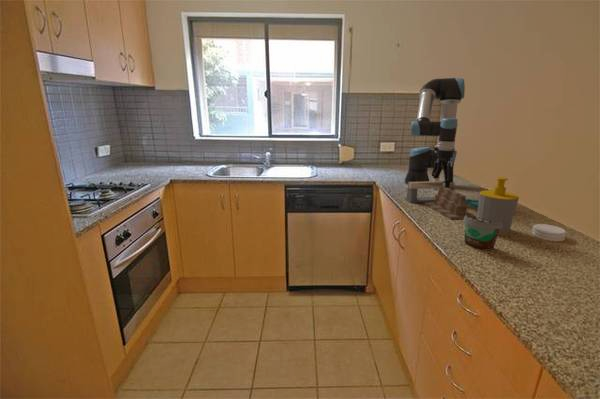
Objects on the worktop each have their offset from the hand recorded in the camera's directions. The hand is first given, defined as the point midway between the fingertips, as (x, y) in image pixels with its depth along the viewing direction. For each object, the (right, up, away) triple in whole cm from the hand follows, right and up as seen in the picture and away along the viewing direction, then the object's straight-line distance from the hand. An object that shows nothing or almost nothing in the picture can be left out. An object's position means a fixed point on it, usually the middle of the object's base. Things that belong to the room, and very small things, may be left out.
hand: (439, 192), depth 164 cm
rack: (-6, -4, +1) cm, 7 cm away
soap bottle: (+3, -16, -39) cm, 42 cm away
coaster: (+20, -18, -46) cm, 53 cm away
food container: (-12, -21, -54) cm, 59 cm away
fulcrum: (-3, -9, -17) cm, 19 cm away
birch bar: (-6, +3, -1) cm, 6 cm away
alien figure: (+21, -7, -7) cm, 23 cm away
